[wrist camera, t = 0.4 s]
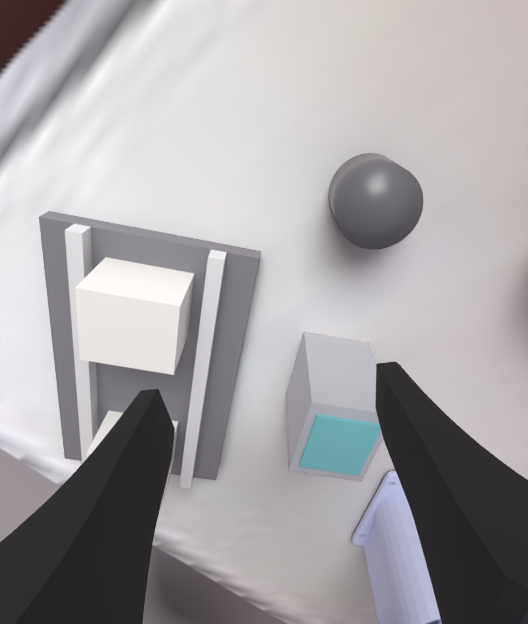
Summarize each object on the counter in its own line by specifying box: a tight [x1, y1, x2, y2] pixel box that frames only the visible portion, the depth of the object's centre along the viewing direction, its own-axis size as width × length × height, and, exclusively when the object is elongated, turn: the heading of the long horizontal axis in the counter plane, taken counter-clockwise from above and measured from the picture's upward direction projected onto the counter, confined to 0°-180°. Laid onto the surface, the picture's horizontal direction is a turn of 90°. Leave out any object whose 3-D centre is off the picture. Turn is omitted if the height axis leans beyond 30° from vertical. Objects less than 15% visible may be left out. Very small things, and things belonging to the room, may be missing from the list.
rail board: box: [39, 211, 260, 506], centre depth 23 cm, size 18×11×4 cm, turn 169°
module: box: [286, 332, 383, 481], centre depth 22 cm, size 5×4×6 cm
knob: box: [329, 153, 423, 249], centre depth 18 cm, size 4×4×3 cm
